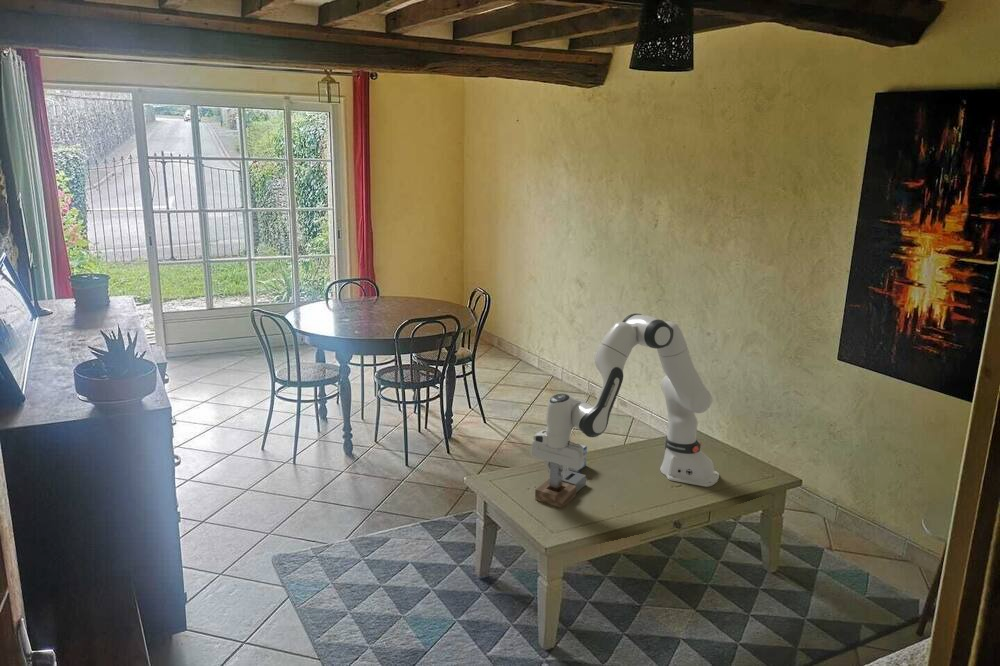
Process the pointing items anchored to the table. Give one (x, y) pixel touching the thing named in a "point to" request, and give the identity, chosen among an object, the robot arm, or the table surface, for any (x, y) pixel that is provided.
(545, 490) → the walnut bore block
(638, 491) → the table surface
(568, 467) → the medicine box
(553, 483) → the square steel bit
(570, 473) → the grey slot block
